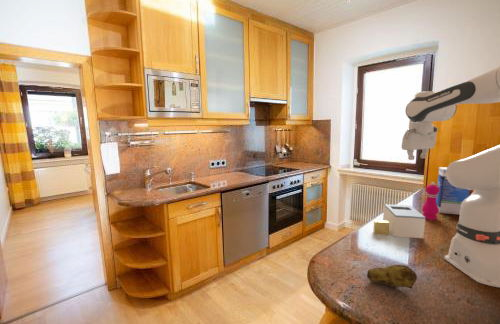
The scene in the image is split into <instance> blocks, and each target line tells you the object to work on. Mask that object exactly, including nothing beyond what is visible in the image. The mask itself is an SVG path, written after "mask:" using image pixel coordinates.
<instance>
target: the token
mask: <svg viewBox="0 0 500 324" xmlns="http://www.w3.org/2000/svg"><path fill="white" fill-rule="evenodd" d="M389 232H390V231H389V222H388V221H383V220H379V219H377V220H376V219H373V231H372V233H373V234H375V235H382V236H385V235H386V236H389V234H390V233H389Z"/></svg>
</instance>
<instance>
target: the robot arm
mask: <svg viewBox="0 0 500 324" xmlns="http://www.w3.org/2000/svg"><path fill="white" fill-rule="evenodd" d="M496 103H500V66H498V67H496V68H494V69H491V70H490V71H486V72H485V73H482V74H481V75H478V76H475V77H473V78H471V79H468V80H465V81H464V82H460V83H458V84H455V85H453V86H450V87H447V88H445V89H442V90H440V91H437V92H434V91H431V90H425V91H420V92H416V93H415V94H413V96H412V99H410V101H409V102H408V103H407V105H406V107H405V115H406V117H407V118H408V119H409V122H408V129H407V130H406V131H405V132H404V134H403V136H402V142H401V149H402V150H403V151H406V153H407V157H408V158H407V159H408V160H409V161H414V160H415V155H414V153H415V152H414V151H417V150H418V151H419V150H422V152H421V154H420V155H419V156H420V159H426V158H427V154H428V152H429V149H434V147H435V145H436V142H437V133H438V130H439V128H438V127H437V126H435V125H434V124H433V123H434V122H445V121H448V120H451V119H452V118H453V117H454V116H455V114H456V112H457V105H463V104H465V105H467V104H468V105H469V104H496ZM446 178H447V180H448V182H449V183H450V184H451V185H452V186H454V187H457V188H462V189H468V190H469V191H472V192H471V194H469V197H467V198H466V199H464V200H463V202H462V203H461V209H460V215H459V218H458V221H457V223H456V224H455V225H456V227H455V231H456V234H455V235H454V236H453V237H451V240H450V245H449V249H448V254H445V255H444V258H443V259H444V260H445V261H447V262H449V263H450V264H451V265H452V266H454V267H455V268H457V270H460V271H461V272H463V273H464V274H465V275H467V276H468V277H469V278H471V279H472V280H474V281H475V282H477V283H480V284H482V285H484V286H485V285H487V286H489V287H494V288H495V287H496V288H500V144H498V145H496V146H493V147H491V148H487V149H485V150H482V151H479V152H478V153H476V154H473V155H470V156H468V157H466V158H465V157H464V158H462V159H459V160H454V161H452V162H451V163H449V164H448V166H447V170H446Z"/></svg>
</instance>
